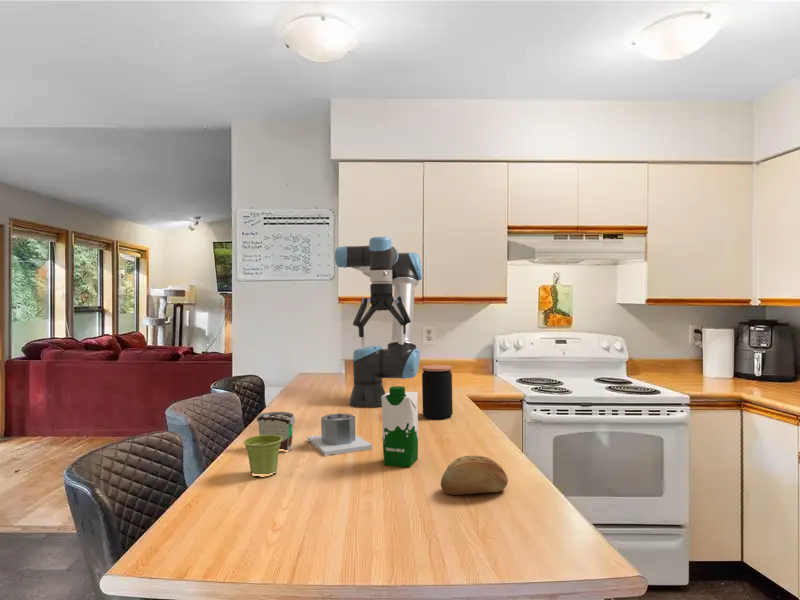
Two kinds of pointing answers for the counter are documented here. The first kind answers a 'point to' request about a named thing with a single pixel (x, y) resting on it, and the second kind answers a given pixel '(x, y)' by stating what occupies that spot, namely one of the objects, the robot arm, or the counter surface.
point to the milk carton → (400, 427)
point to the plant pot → (263, 453)
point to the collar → (338, 429)
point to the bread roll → (473, 476)
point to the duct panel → (337, 449)
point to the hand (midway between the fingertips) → (382, 345)
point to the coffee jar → (437, 392)
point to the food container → (277, 426)
